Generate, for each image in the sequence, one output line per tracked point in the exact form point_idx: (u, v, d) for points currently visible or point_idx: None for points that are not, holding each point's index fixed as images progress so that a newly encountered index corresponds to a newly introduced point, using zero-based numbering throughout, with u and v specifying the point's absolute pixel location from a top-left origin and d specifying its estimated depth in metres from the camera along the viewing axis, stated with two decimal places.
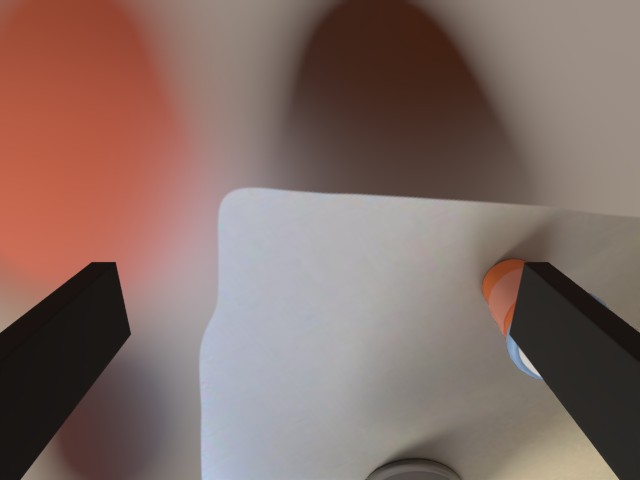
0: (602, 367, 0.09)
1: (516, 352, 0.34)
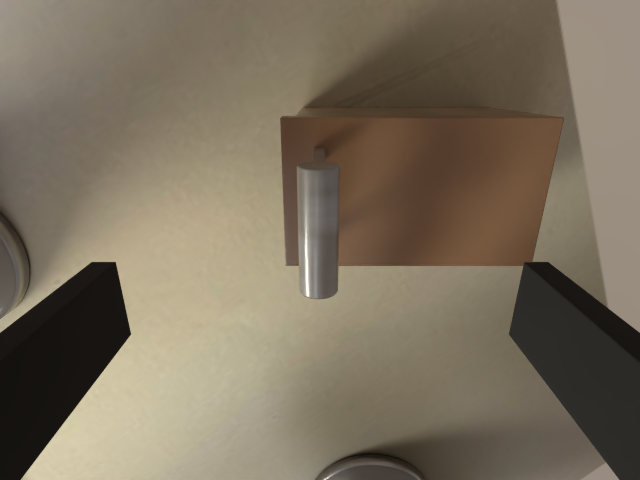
0: (602, 367, 0.09)
1: None
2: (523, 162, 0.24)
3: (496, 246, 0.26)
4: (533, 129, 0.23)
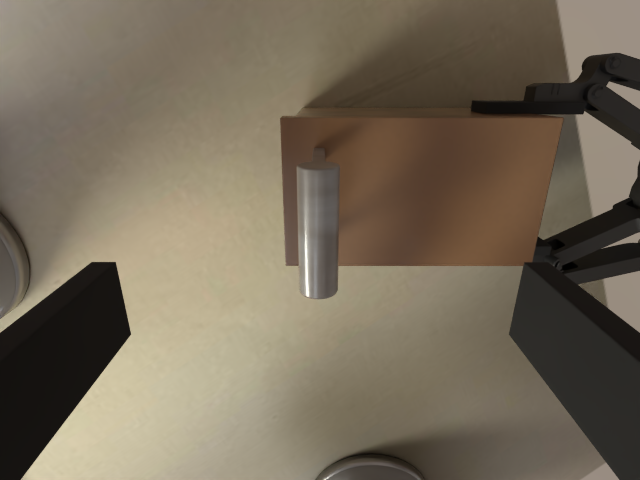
0: (602, 367, 0.09)
1: None
2: (523, 162, 0.24)
3: (496, 246, 0.26)
4: (533, 129, 0.23)
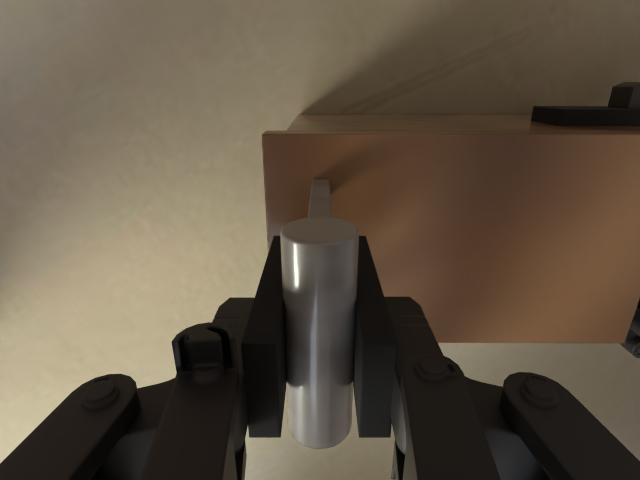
0: None
1: None
2: (627, 200, 0.16)
3: (576, 317, 0.18)
4: None
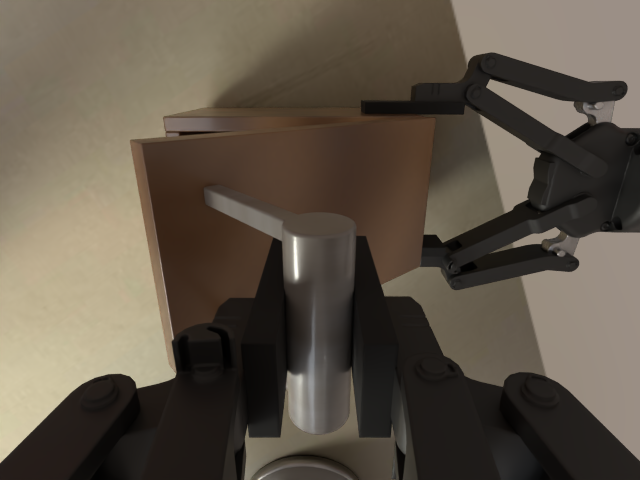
0: (353, 312, 0.11)
1: None
2: (412, 166, 0.22)
3: (397, 257, 0.24)
4: (417, 131, 0.22)
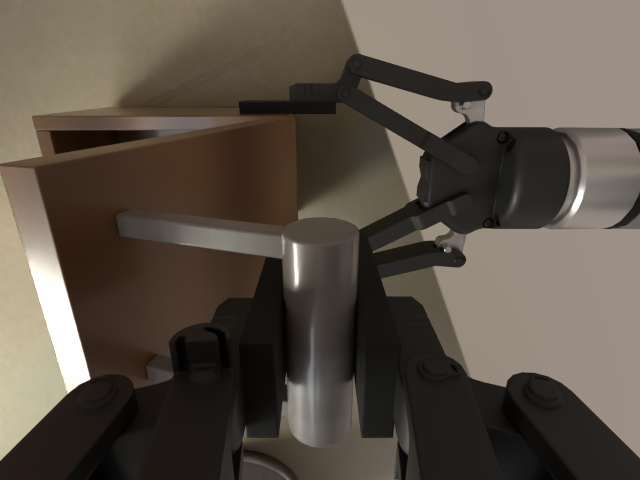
0: None
1: None
2: (285, 165, 0.23)
3: None
4: (285, 130, 0.22)
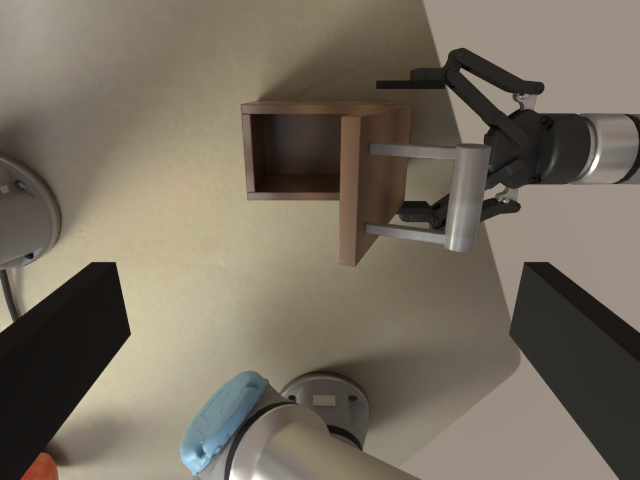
0: (602, 367, 0.09)
1: None
2: (406, 135, 0.36)
3: (400, 195, 0.37)
4: (408, 113, 0.35)
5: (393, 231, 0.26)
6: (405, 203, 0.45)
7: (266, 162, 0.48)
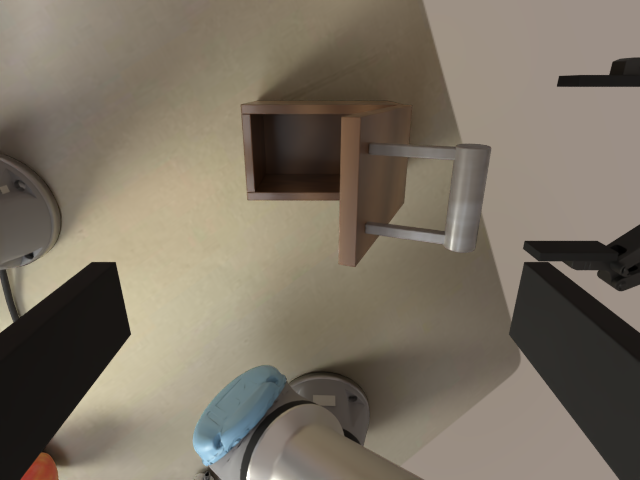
0: (602, 367, 0.09)
1: None
2: (406, 135, 0.36)
3: (400, 195, 0.37)
4: (408, 113, 0.35)
5: (393, 231, 0.26)
6: (575, 245, 0.34)
7: (266, 162, 0.48)
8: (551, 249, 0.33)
